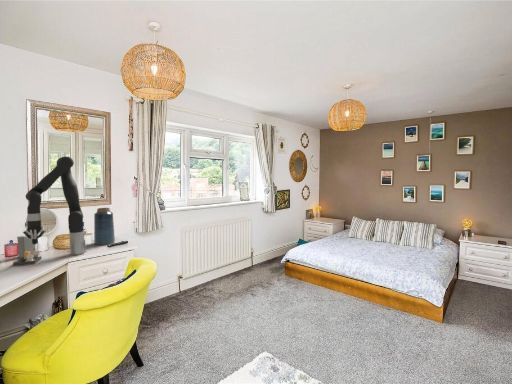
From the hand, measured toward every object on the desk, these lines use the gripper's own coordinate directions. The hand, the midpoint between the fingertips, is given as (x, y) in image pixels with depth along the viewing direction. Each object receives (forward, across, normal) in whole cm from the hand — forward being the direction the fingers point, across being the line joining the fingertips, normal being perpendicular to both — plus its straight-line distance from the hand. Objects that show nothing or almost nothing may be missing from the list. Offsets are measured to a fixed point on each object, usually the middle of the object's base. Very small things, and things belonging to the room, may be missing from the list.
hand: (34, 244), depth 187 cm
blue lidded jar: (+12, -33, -44) cm, 57 cm away
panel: (+13, +4, 0) cm, 13 cm away
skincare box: (+13, +13, -17) cm, 25 cm away
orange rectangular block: (+10, +5, 0) cm, 11 cm away
